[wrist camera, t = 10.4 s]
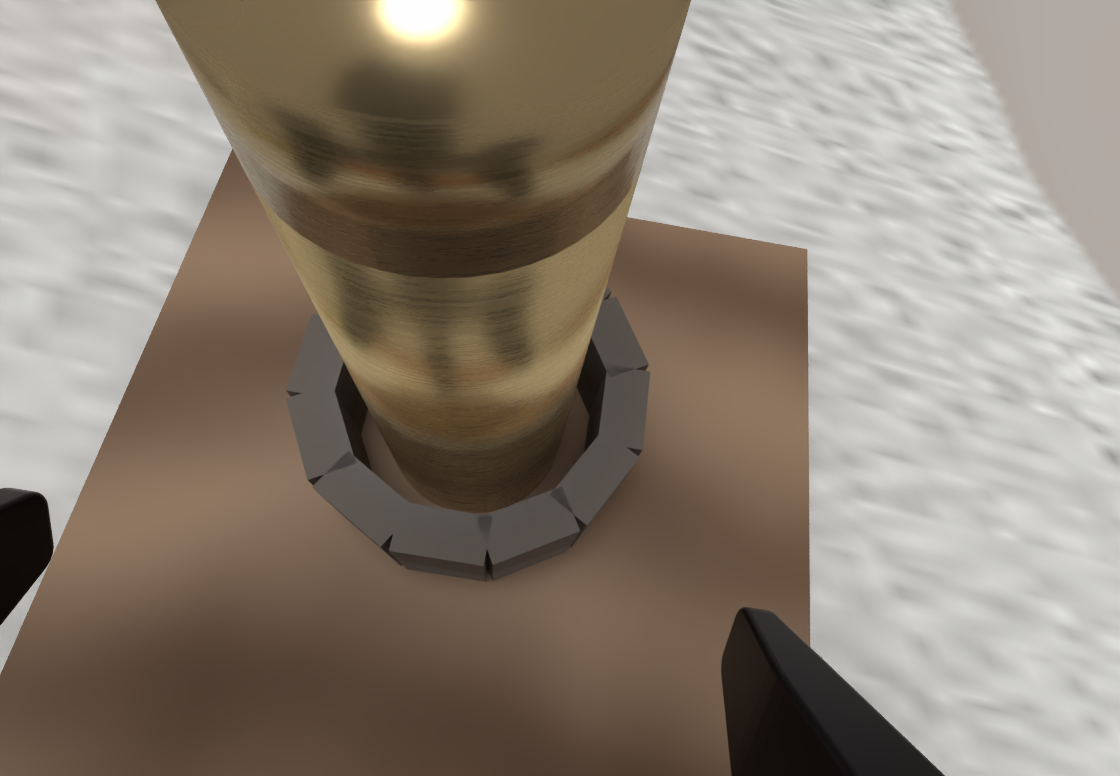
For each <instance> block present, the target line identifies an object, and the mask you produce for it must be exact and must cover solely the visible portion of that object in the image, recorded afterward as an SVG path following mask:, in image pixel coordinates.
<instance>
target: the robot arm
mask: <svg viewBox="0 0 1120 776" xmlns="http://www.w3.org/2000/svg"><path fill="white" fill-rule="evenodd" d="M53 548H54V545H53V537H52V530H51V523H50V516H49V509H48V503H47V500H46V499H45V497H44V496H43V495H42V494H40V493H38V492H33V491H27V490H21V489H15V488H2V489H0V625H1V624H2V623H3V621H4V620H5V619H6V618H7V616H8V615H9V614H10V613H11V611H12V610H13V609H14V608H15V606H16V605H17V604H18V603H19V601H20V600H21V599H22V597H23V596H24V595H25V594H26V592H27V591H28V590H29V589H30V587H31V586H32V585H33V584H34V582H35V581H36V580H37V579H38V577H39V576H40V575H41V573H42V572H43V571H44V570H45V568H46V567H47V565H48V564H49V562H50V560H51V557H52V554H53ZM721 678H722V688H723V698H724V708H725V718H726V728H727V738H728V748H729V758H730V768H731V776H945V775H944V774H943V773H942V772H941V771H940V770H938V769H937V768H936V767H935V766H934V765H933V764H932V763H931V762H930V761H929V760H928V759H927V758H926V757H925V756H924V755H923V754H922V753H921V752H920V751H919V750H918V749H916V748H915V747H914V746H913V745H912V744H911V743H910V742H909V741H908V740H907V739H906V738H905V737H904V736H903V735H902V734H901V733H900V732H899V731H898V730H897V729H895V728H894V727H893V726H892V725H891V724H890V723H889V722H888V721H887V720H886V719H885V718H884V717H883V716H882V715H881V714H880V713H879V712H878V711H877V710H876V709H875V708H873V707H872V706H871V705H870V704H869V703H868V702H867V701H866V700H865V699H864V698H863V697H862V696H861V695H860V694H859V693H858V692H857V691H856V690H855V689H854V688H852V687H851V686H850V685H849V684H848V683H847V682H846V681H845V680H844V679H843V678H842V677H841V676H840V675H839V674H838V673H837V672H836V671H835V670H834V669H833V668H832V667H830V666H829V665H828V664H827V663H826V662H825V661H824V660H823V659H822V658H821V657H820V656H819V655H818V654H817V653H816V652H815V651H814V650H813V649H812V648H811V647H809V646H808V645H807V644H806V643H805V642H804V641H803V640H802V639H801V638H800V637H799V636H798V635H797V634H796V633H795V632H794V631H793V630H792V629H791V628H790V627H789V626H787V625H786V624H785V623H784V622H783V621H782V620H781V619H780V618H779V617H778V616H777V615H776V614H775V613H773V612H772V611H769V610H764V609H757V608H751V607H743V608H741V609H739V611H738V612H737V614H736V616H735V619H734V622H733V625H732V628H731V631H730V634H729V637H728V640H727V643H726V646H725V649H724V652H723V655H722V661H721Z"/></svg>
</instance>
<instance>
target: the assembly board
mask: <svg viewBox="0 0 1120 776" xmlns="http://www.w3.org/2000/svg"><path fill="white" fill-rule="evenodd" d="M743 607H751V608H757V609H764V610H769V611H772V612H773V613H775V614H776V615H777V616H778V617H779V618H780V619H781V620H782V621H783V622H784V623H785V624H786V625H787V626H789V627H790V628H791V629H792V630H793V631H794V632H795V633H796V634H797V635H798V636H799V637H800V638H801V639H802V640H803V641H804V642H805V643H806V644H807V645H808V646H809V647H810V574H809V432H808V289H807V249H802V248H797V247H791V246H785V245H780V244H774V243H769V242H763V241H757V240H752V239H746V238H740V237H735V236H729V235H724V234H718V233H712V232H707V231H701V230H695V229H690V228H684V227H679V226H673V225H667V224H662V223H656V222H650V221H645V220H639V219H634V218H628V217H627V218H626V221H625V225H624V228H623V231H622V235H621V238H620V241H619V245H618V248H617V252H616V255H615V258H614V262H613V265H612V268H611V272H610V275H609V278H608V282H607V285H606V289H605V292H604V295H603V299H602V302H601V305H600V309H599V312H598V316H597V319H596V322H595V326H594V329H593V332H592V336H591V339H590V343H589V346H588V349H587V353H586V356H585V359H584V363H583V366H582V369H581V373H580V376H579V380H578V383H577V386H576V390H575V393H574V396H573V400H572V403H571V407H570V410H569V413H568V417H567V420H566V423H565V427H564V430H563V434H562V437H561V440H560V444H559V447H558V450H557V454H556V457H555V460H554V462H553V464H552V466H551V468H550V470H549V472H548V473H547V475H546V476H545V478H544V479H543V481H542V482H541V483H540V484H539V485H538V486H537V487H536V488H535V489H534V490H533V491H532V492H531V493H530V494H529V495H527V496H526V497H524V498H523V499H521V500H520V501H518V502H516V503H514V504H512V505H510V506H508V507H505V508H502V509H499V510H495V511H490V512H484V513H468V512H462V511H456V510H450V509H446V508H443V507H440V506H438V505H436V504H434V503H432V502H430V501H429V500H427V499H426V498H424V497H423V496H421V495H420V494H419V493H418V492H417V491H416V490H415V489H413V487H412V486H411V485H410V484H409V483H408V482H407V480H406V479H405V477H404V476H403V474H402V473H401V471H400V469H399V467H398V465H397V463H396V462H395V460H394V458H393V456H392V454H391V452H390V450H389V448H388V446H387V444H386V442H385V440H384V438H383V437H382V435H381V433H380V431H379V429H378V427H377V425H376V423H375V421H374V419H373V417H372V415H371V413H370V412H369V410H368V408H367V406H366V404H365V402H364V400H363V398H362V396H361V394H360V392H359V390H358V388H357V387H356V385H355V383H354V381H353V379H352V377H351V375H350V373H349V371H348V369H347V367H346V365H345V363H344V362H343V360H342V358H341V356H340V354H339V352H338V350H337V348H336V346H335V344H334V342H333V340H332V339H331V337H330V335H329V333H328V331H327V329H326V327H325V325H324V323H323V321H322V319H321V317H320V315H319V314H318V312H317V310H316V308H315V306H314V304H313V302H312V300H311V298H310V296H309V294H308V292H307V290H306V289H305V287H304V285H303V283H302V281H301V279H300V277H299V275H298V273H297V271H296V269H295V267H294V265H293V264H292V262H291V260H290V258H289V256H288V254H287V252H286V250H285V248H284V246H283V244H282V242H281V241H280V239H279V237H278V235H277V233H276V231H275V229H274V227H273V225H272V223H271V221H270V219H269V217H268V216H267V214H266V212H265V210H264V208H263V206H262V204H261V202H260V200H259V198H258V196H257V194H256V192H255V191H254V189H253V187H252V185H251V183H250V181H249V179H248V177H247V175H246V173H245V171H244V169H243V167H242V166H241V164H240V162H239V160H238V158H237V156H236V154H235V152H234V150H233V149H232V151H231V154H230V156H229V158H228V160H227V163H226V165H225V167H224V169H223V172H222V174H221V176H220V178H219V181H218V183H217V185H216V188H215V190H214V192H213V194H212V197H211V199H210V201H209V203H208V206H207V208H206V210H205V212H204V215H203V217H202V219H201V222H200V224H199V226H198V228H197V231H196V233H195V235H194V237H193V240H192V242H191V244H190V246H189V249H188V251H187V253H186V255H185V258H184V260H183V262H182V265H181V267H180V269H179V271H178V274H177V276H176V278H175V280H174V283H173V285H172V287H171V289H170V292H169V294H168V296H167V299H166V301H165V303H164V305H163V308H162V310H161V312H160V314H159V317H158V319H157V321H156V323H155V326H154V328H153V330H152V333H151V335H150V337H149V339H148V342H147V344H146V346H145V348H144V351H143V353H142V355H141V357H140V360H139V362H138V364H137V366H136V369H135V371H134V373H133V376H132V378H131V380H130V382H129V385H128V387H127V389H126V391H125V394H124V396H123V398H122V400H121V403H120V405H119V407H118V410H117V412H116V414H115V416H114V419H113V421H112V423H111V425H110V428H109V430H108V432H107V434H106V437H105V439H104V441H103V444H102V446H101V448H100V450H99V453H98V455H97V457H96V459H95V462H94V464H93V466H92V468H91V471H90V473H89V475H88V477H87V480H86V482H85V484H84V487H83V489H82V491H81V493H80V496H79V498H78V500H77V502H76V505H75V507H74V509H73V511H72V514H71V516H70V518H69V521H68V523H67V525H66V527H65V530H64V532H63V534H62V536H61V539H60V541H59V543H58V545H57V548H56V550H55V552H54V555H53V557H52V559H51V561H50V564H49V566H48V568H47V570H46V573H45V575H44V577H43V579H42V582H41V584H40V586H39V588H38V591H37V593H36V595H35V598H34V600H33V602H32V604H31V607H30V609H29V611H28V613H27V616H26V618H25V620H24V622H23V625H22V627H21V629H20V632H19V634H18V636H17V638H16V641H15V643H14V645H13V647H12V650H11V652H10V654H9V656H8V659H7V661H6V663H5V666H4V668H3V670H2V672H1V675H0V776H731V768H730V758H729V748H728V738H727V728H726V718H725V708H724V698H723V688H722V678H721V661H722V655H723V652H724V649H725V646H726V643H727V640H728V637H729V634H730V631H731V628H732V625H733V622H734V619H735V616H736V614H737V612H738V611H739V609H741V608H743Z"/></svg>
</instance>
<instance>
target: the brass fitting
mask: <svg viewBox="0 0 1120 776" xmlns="http://www.w3.org/2000/svg"><path fill="white" fill-rule="evenodd" d="M156 2H157V4H158V6H159V8H160V10H161V12H162V14H163V16H164V18H165V20H166V21H167V23H168V25H169V27H170V29H171V31H172V33H173V35H174V37H175V39H176V41H177V43H178V45H179V46H180V48H181V50H182V52H183V54H184V56H185V58H186V60H187V62H188V64H189V66H190V68H191V69H192V71H193V73H194V75H195V77H196V79H197V81H198V83H199V85H200V87H201V89H202V91H203V93H204V94H205V96H206V98H207V100H208V102H209V104H210V106H211V108H212V110H213V112H214V114H215V116H216V118H217V119H218V121H219V123H220V125H221V127H222V129H223V131H224V133H225V135H226V137H227V139H228V141H229V143H230V144H231V146H232V148H233V150H234V152H235V154H236V156H237V158H238V160H239V162H240V164H241V166H242V167H243V169H244V171H245V173H246V175H247V177H248V179H249V181H250V183H251V185H252V187H253V189H254V191H255V192H256V194H257V196H258V198H259V200H260V202H261V204H262V206H263V208H264V210H265V212H266V214H267V216H268V217H269V219H270V221H271V223H272V225H273V227H274V229H275V231H276V233H277V235H278V237H279V239H280V241H281V242H282V244H283V246H284V248H285V250H286V252H287V254H288V256H289V258H290V260H291V262H292V264H293V265H294V267H295V269H296V271H297V273H298V275H299V277H300V279H301V281H302V283H303V285H304V287H305V289H306V290H307V292H308V294H309V296H310V298H311V300H312V302H313V304H314V306H315V308H316V310H317V312H318V314H319V315H320V317H321V319H322V321H323V323H324V325H325V327H326V329H327V331H328V333H329V335H330V337H331V339H332V340H333V342H334V344H335V346H336V348H337V350H338V352H339V354H340V356H341V358H342V360H343V362H344V363H345V365H346V367H347V369H348V371H349V373H350V375H351V377H352V379H353V381H354V383H355V385H356V387H357V388H358V390H359V392H360V394H361V396H362V398H363V400H364V402H365V404H366V406H367V408H368V410H369V412H370V413H371V415H372V417H373V419H374V421H375V423H376V425H377V427H378V429H379V431H380V433H381V435H382V437H383V438H384V440H385V442H386V444H387V446H388V448H389V450H390V452H391V454H392V456H393V458H394V460H395V462H396V463H397V465H398V467H399V469H400V471H401V473H402V474H403V476H404V477H405V479H406V480H407V482H408V483H409V484H410V485H411V486H412V487H413V489H415V490H416V491H417V492H418V493H419V494H420V495H421V496H423V497H424V498H426V499H427V500H429V501H430V502H432V503H434V504H436V505H438V506H440V507H443V508H446V509H450V510H456V511H462V512H468V513H484V512H490V511H495V510H499V509H502V508H505V507H508V506H510V505H512V504H514V503H516V502H518V501H520V500H521V499H523V498H524V497H526V496H527V495H529V494H530V493H531V492H532V491H533V490H534V489H535V488H536V487H537V486H538V485H539V484H540V483H541V482H542V481H543V479H544V478H545V476H546V475H547V473H548V472H549V470H550V468H551V466H552V464H553V462H554V460H555V457H556V454H557V450H558V447H559V444H560V440H561V437H562V434H563V430H564V427H565V423H566V420H567V417H568V413H569V410H570V407H571V403H572V400H573V396H574V393H575V390H576V386H577V383H578V380H579V376H580V373H581V369H582V366H583V363H584V359H585V356H586V353H587V349H588V346H589V343H590V339H591V336H592V332H593V329H594V326H595V322H596V319H597V316H598V312H599V309H600V305H601V302H602V299H603V295H604V292H605V289H606V285H607V282H608V278H609V275H610V272H611V268H612V265H613V262H614V258H615V255H616V252H617V248H618V245H619V241H620V238H621V235H622V231H623V228H624V225H625V221H626V218H627V214H628V211H629V208H630V204H631V201H632V198H633V194H634V191H635V187H636V184H637V181H638V177H639V174H640V171H641V167H642V164H643V160H644V157H645V154H646V150H647V147H648V144H649V140H650V137H651V134H652V130H653V127H654V123H655V120H656V117H657V113H658V110H659V107H660V103H661V100H662V96H663V93H664V90H665V86H666V83H667V80H668V76H669V73H670V69H671V66H672V63H673V59H674V56H675V53H676V49H677V46H678V43H679V39H680V36H681V32H682V29H683V26H684V22H685V19H686V16H687V12H688V9H689V5H690V2H691V0H156Z"/></svg>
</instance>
